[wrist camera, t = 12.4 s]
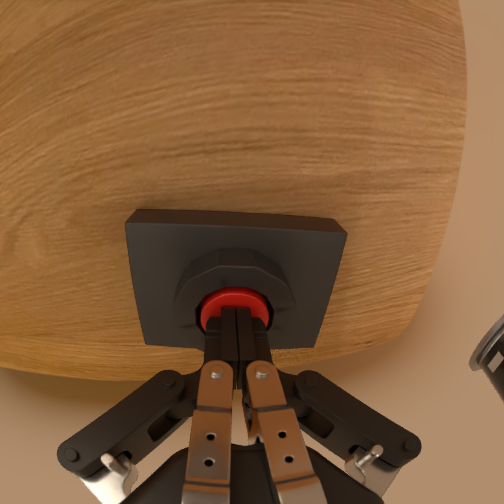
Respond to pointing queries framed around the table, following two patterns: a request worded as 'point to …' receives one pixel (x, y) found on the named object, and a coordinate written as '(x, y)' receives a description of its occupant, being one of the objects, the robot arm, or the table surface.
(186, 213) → the control block
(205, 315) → the button
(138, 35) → the table surface
